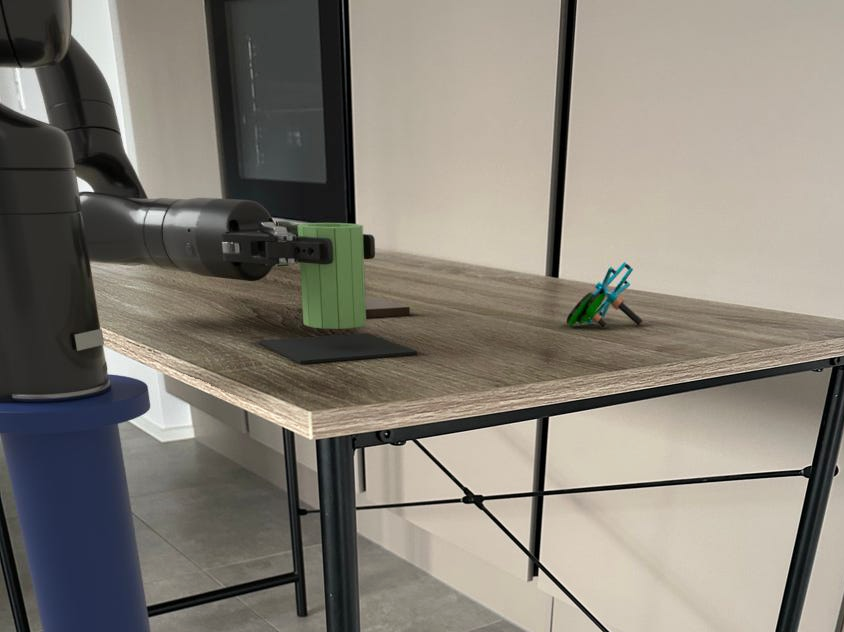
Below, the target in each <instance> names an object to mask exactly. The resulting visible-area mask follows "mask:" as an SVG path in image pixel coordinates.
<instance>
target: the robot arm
mask: <svg viewBox="0 0 844 632" xmlns="http://www.w3.org/2000/svg"><path fill="white" fill-rule="evenodd" d="M72 29H73V0H0V68H3V69H4V68H5V69H6V68H7V69H9V68H10V69H25V70H26V69H29V70H31V69H33V70H34V72H35V75H36V79H37V81H38V82H37V83H38V86H39V89H40V92H41V97H42V100H43V103H44V108H45V113H46V117H47V120H48V122H45V121H42V120H39V119H36V118H34V117H31V116H28V115H26V114H24V113H21V112H19V111H17V110H15V109H13V108H11V107H9V106H7V105H6V104H4V103H3V102H1V101H0V403H10V402H20V403H52V402H64V401H73V400H80V399H85V398H90V397H94V396H98V395H101V394H103V393H105V392H107V391H109V390H110V389H111V384H110V379H109V378H108V374H109V373H108V365H107V364H108V363H107V361H106V360H107V359H106V354H105V349H104V345H105V341H104V334H103V329H102V328H101V323H100V318H99V317H100V316H99V312H98V304H97V297H96V292H95V286H94V279H93V273H92V272H93V271H92V266H91V263H96V264H106V265H107V264H109V265H119V266H128V267H129V266H130V267H137V266H148V267H154V268H158V269H162V270H167V271H175V272H183V273H191V274H194V275H198V276H201V277H202V276H203V277H207V278H208V277H209V278H218V279H226V280H227V279H228V280H237V281H247V282H256V281H257V282H258V281H260V280H262V279H264V278H266V276H268V275H269V274H270V272H271V271H272V269H273V267H289V266H290V265H291V266H294V265H295V264H298V263H300V262H302V263H313V264H324V265H326V264H331V263H332V262H333V245H332V241H331V240H330V239H329V238H316V237H304V236H298V225H299V224H300V223H295V222H294V221H293V220H275V222H274V220H273V218H272V215H271V214H270V213H269V211H268V210H267V209H266V208H265V207H264V206H263V205H262V204H261V203H259V202H257V201H255V200H251V199H238V198H237V199H236V198H235V199H234V198H218V197H194V198H193V197H192V198H171V197H170V198H167V197H158V198H149V197H148V195H147V193H146V191H145V189H144V187H143V184H142V182H141V180H140V178H139V177H138V174H137V172H136V170H135V168H134V166H133V164H132V162H131V160H130V159H129V157H128V155H127V152H126V150H125V148H124V147H125V146H124V142H123V137H122V132H121V128H120V124H119V119H118V116H117V111H116V107H115V106H116V105H115V102H114V98H113V96H112V92H111V89H110V87H109V84H108V82H107V80H106V77H105V76H104V74H103V72H102V70H101V69H100V67H99V65H98V64H97V63H96V62H95V60H94V59H93V58H92V57H91V55H90V53H88V52H87V51H86V49H85V48H84V47H83V46H82V45H81V44H80V42H79V41H78V40H77V39H76V38H75V37H74V36H73V35H72ZM78 179H81V180H82V181H84V182H85V183H87V184H88V186H90V188H91V189H92V191H89V190H88V191H80V190H79V184H78ZM375 241H376V239H375V236H374V235H373V234H370V233H363V245H364V260H373V259H374V258H375V257H376V242H375Z"/></svg>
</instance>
